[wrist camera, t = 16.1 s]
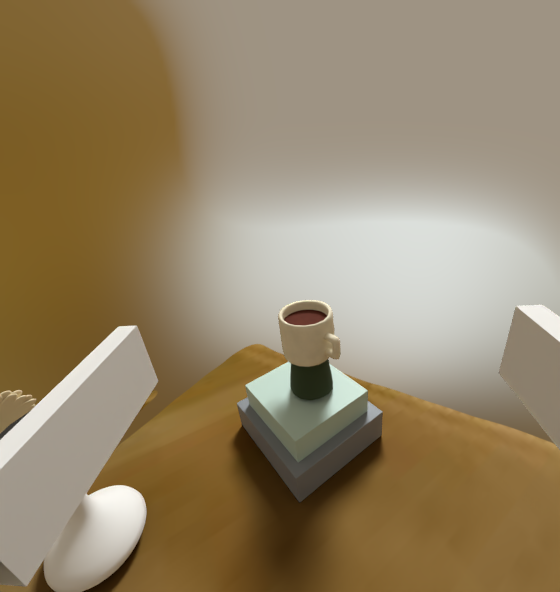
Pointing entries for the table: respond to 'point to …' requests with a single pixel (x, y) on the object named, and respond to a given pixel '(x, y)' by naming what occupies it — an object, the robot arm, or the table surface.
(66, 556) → the flower in vase
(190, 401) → the table surface
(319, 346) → the character mug
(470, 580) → the table surface
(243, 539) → the table surface
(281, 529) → the table surface
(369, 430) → the tower base
